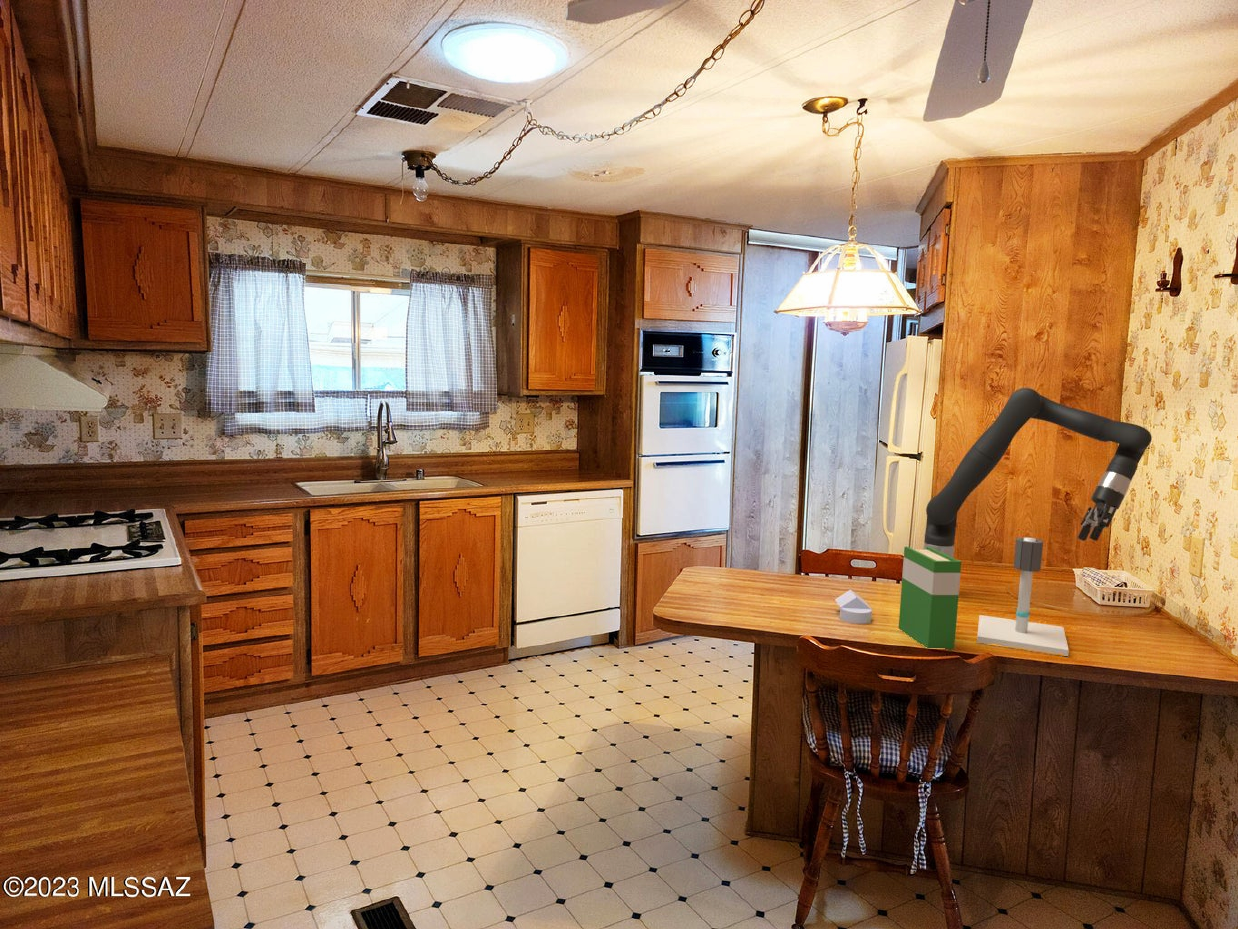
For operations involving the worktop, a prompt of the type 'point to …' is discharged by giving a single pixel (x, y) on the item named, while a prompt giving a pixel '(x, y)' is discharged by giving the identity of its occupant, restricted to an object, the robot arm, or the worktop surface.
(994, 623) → the post board
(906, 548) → the hardback book
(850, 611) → the wedge on round base
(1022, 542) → the collar
